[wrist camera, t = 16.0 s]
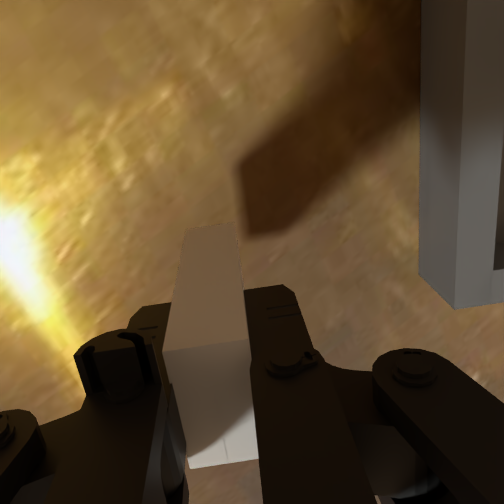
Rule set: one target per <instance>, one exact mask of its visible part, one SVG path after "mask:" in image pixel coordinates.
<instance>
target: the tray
mask: <svg viewBox="0 0 504 504" xmlns="http://www.w3.org/2000/svg"><path fill="white" fill-rule="evenodd" d="M419 275H420V276H421V277H422V278H423V279H424V280H425V281H426V282H427V283H428V284H429V285H430V286H431V287H432V288H433V289H434V290H435V291H436V292H437V293H438V294H439V295H440V296H441V297H442V298H443V299H444V300H445V301H446V302H447V303H448V304H449V305H450V306H451V307H452V308H453V309H454V310H455V309H462V308H468V307H475V306H482V305H488V304H495V303H502V302H504V0H421V84H420V190H419Z"/></svg>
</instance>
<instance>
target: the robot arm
mask: <svg viewBox="0 0 504 504" xmlns="http://www.w3.org/2000/svg"><path fill="white" fill-rule="evenodd" d="M73 356H74V359H75V362H76V365H77V368H78V372H79V375H80V378H81V381H82V384H83V387H84V390H85V393H86V397H85V400H84V402H83V405H82V408H81V409H80V410H79V411H76V412H74V413H72V414H70V415H67V416H65V417H62V418H59V419H57V420H54V421H51V422H48V423H46V424H43V425H40V426H39V425H38V422H37V420H36V417H35V416H34V415H33V414H32V413H31V412H30V411H25V410H20V409H15V410H7V411H2V412H0V504H188V503H189V490H188V484H187V480H186V476H185V472H184V469H185V456H186V454H187V458H188V462H189V466H190V469H194V468H200V467H207V466H213V465H220V464H226V463H233V462H239V461H246V460H252V459H259V467H260V477H261V486H262V496H263V504H377V502H376V499H375V496H374V495H378V497H379V499H380V502H381V504H504V403H503V402H501V401H500V400H499V399H497V398H496V397H495V396H494V395H492V394H491V393H490V392H488V391H487V390H486V389H485V388H483V387H482V386H481V385H479V384H478V383H477V382H476V381H474V380H473V379H472V378H470V377H469V376H468V375H467V374H465V373H464V372H463V371H462V370H460V369H459V368H458V367H456V366H455V365H454V364H453V363H451V362H450V361H449V360H447V359H445V358H443V357H442V356H440V355H438V354H436V353H433V352H429V351H426V350H422V349H411V348H403V349H398V350H392V351H389V352H387V353H385V354H383V355H381V356H379V357H378V359H377V360H376V361H375V362H374V364H373V368H372V371H357V370H348V369H342V368H339V367H336V366H332V365H330V364H328V363H327V362H325V360H324V358H323V357H322V356H321V354H320V353H319V351H317V350H315V349H314V348H313V345H312V342H311V339H310V336H309V333H308V331H307V328H306V325H305V322H304V319H303V316H302V315H301V311H300V308H299V306H298V302H297V299H296V296H295V293H294V292H293V291H291V290H290V289H289V288H287V287H286V286H284V285H283V284H282V285H275V286H268V287H261V288H254V289H248V290H245V289H244V283H243V276H242V269H241V263H240V256H239V249H238V243H237V236H236V229H235V222H232V223H225V224H218V225H211V226H204V227H197V228H190V229H186V231H185V236H184V242H183V247H182V252H181V257H180V262H179V267H178V272H177V278H176V283H175V288H174V293H173V298H172V302H170V303H163V304H156V305H149V306H143V307H141V308H140V309H139V310H138V311H137V312H136V313H135V314H134V315H133V316H132V317H131V318H130V321H129V324H128V327H127V329H118V330H114V331H110V332H106V333H104V334H101V335H99V336H97V337H95V338H92V339H91V340H89V341H88V342H87V343H85V344H84V345H82V346H81V347H80V348H79V349H78V350H77V352H76V353H75V354H74V355H73Z"/></svg>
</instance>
